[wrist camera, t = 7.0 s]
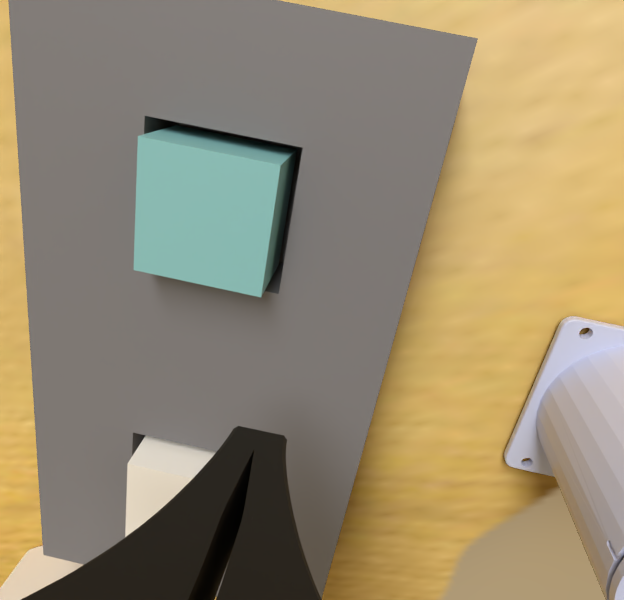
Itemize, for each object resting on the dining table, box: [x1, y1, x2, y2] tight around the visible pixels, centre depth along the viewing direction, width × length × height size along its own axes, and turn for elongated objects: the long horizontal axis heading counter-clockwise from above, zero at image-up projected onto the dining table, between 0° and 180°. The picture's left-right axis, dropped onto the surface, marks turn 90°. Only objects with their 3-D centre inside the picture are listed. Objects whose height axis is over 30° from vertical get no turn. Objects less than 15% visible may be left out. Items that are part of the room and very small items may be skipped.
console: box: [9, 0, 477, 599], centre depth 22 cm, size 14×26×4 cm, turn 170°
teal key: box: [134, 125, 297, 297], centre depth 18 cm, size 4×4×3 cm
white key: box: [125, 436, 216, 537], centre depth 24 cm, size 4×4×3 cm
